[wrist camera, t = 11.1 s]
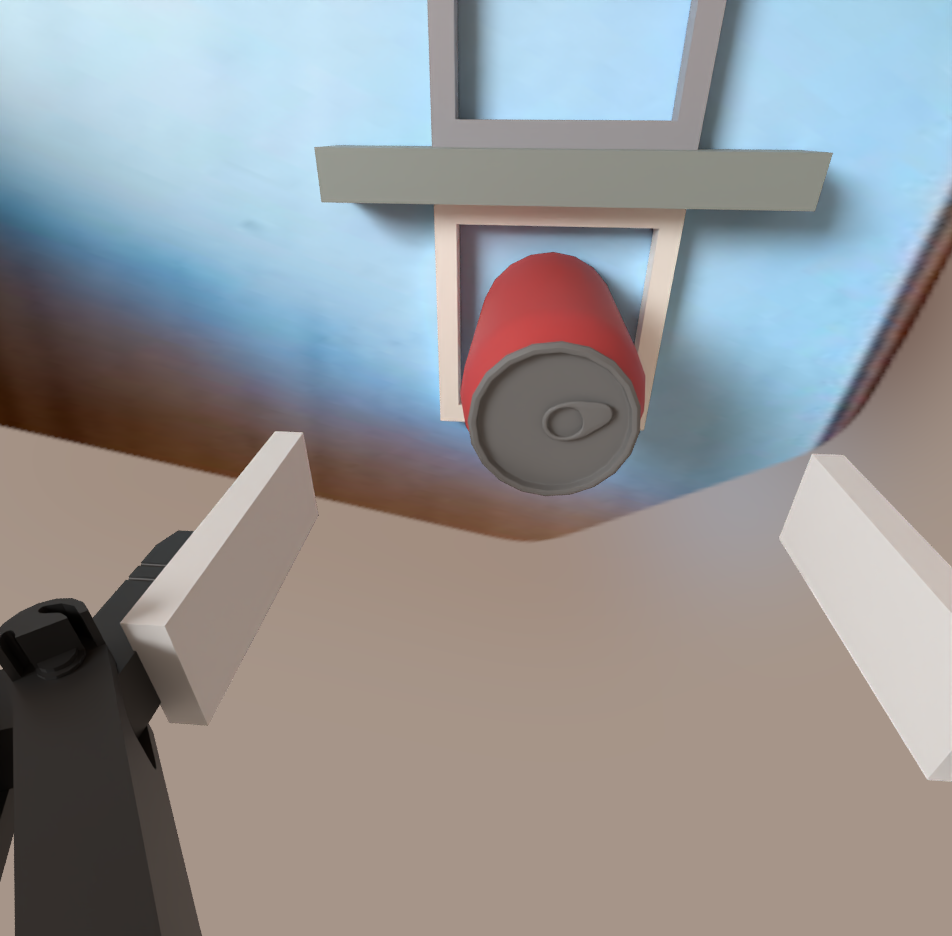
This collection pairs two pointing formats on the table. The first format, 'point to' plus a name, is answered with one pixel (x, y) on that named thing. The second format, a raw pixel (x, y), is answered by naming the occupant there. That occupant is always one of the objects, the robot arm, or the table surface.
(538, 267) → the beer can
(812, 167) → the double frame with crossbar
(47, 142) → the table surface
